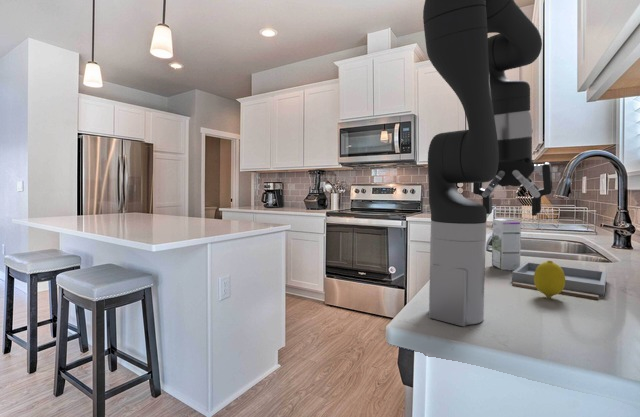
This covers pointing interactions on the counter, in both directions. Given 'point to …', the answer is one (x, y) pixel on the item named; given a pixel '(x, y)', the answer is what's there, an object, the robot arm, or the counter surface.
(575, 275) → the tray
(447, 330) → the counter surface
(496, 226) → the syrup box
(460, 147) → the robot arm
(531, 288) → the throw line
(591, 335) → the counter surface
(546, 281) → the lemon
